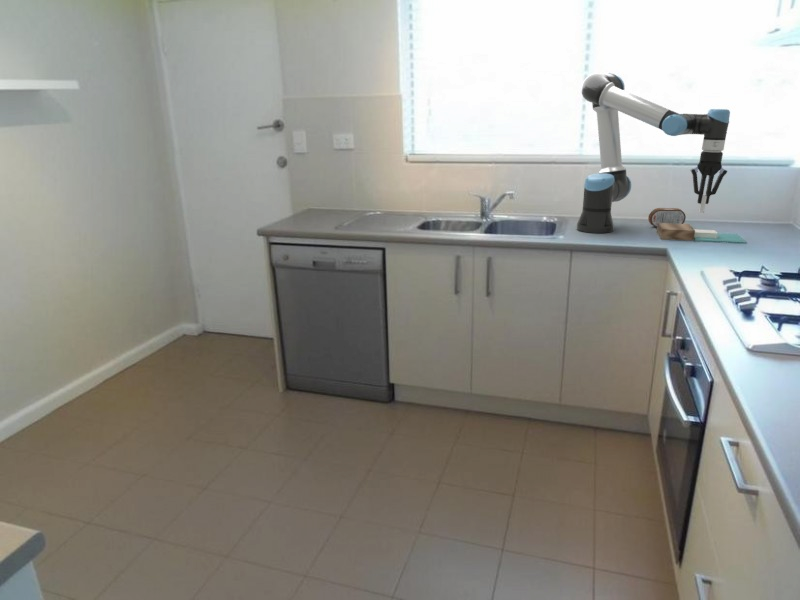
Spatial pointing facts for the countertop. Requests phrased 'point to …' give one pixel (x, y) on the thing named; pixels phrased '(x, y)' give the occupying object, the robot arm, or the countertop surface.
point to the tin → (666, 216)
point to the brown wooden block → (675, 231)
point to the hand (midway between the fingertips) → (701, 211)
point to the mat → (723, 238)
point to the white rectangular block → (706, 233)
